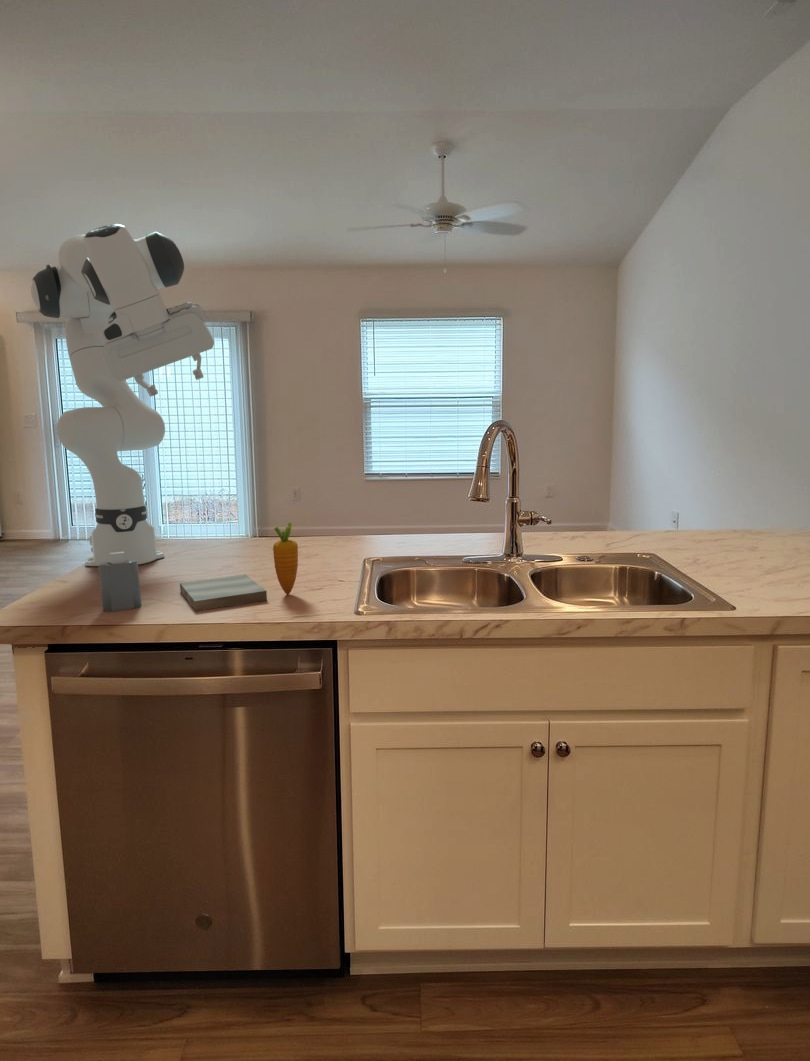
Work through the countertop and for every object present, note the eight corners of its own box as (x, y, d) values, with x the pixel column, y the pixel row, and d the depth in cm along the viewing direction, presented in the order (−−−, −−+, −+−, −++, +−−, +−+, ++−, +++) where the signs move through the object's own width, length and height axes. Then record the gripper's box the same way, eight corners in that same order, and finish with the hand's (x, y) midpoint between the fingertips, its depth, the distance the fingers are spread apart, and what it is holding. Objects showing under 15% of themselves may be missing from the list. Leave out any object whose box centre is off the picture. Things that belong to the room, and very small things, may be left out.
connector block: (103, 612, 128) (97, 556, 126) (102, 608, 131) (96, 553, 129) (142, 606, 131) (137, 552, 129) (140, 603, 134) (135, 549, 132)
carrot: (276, 598, 135) (273, 525, 133) (274, 592, 140) (270, 521, 137) (301, 596, 137) (298, 524, 134) (298, 590, 141) (294, 520, 139)
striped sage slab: (180, 591, 142) (179, 582, 141) (246, 582, 148) (245, 574, 148) (195, 611, 128) (194, 601, 128) (266, 600, 134) (266, 590, 134)
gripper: (198, 297, 129) (227, 365, 135) (95, 333, 127) (130, 400, 134) (196, 299, 123) (227, 371, 130) (89, 337, 122) (125, 408, 128)
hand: (177, 386), depth 132 cm, fingers open, 8 cm apart
